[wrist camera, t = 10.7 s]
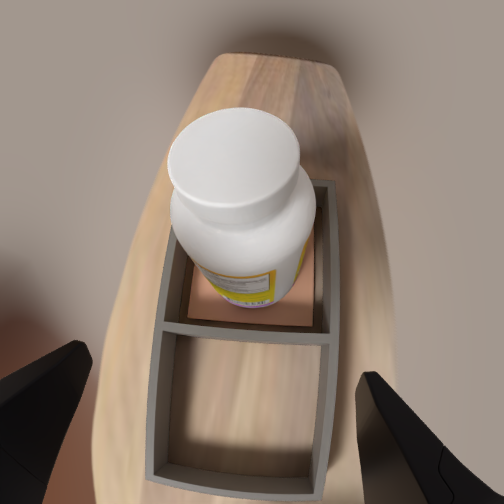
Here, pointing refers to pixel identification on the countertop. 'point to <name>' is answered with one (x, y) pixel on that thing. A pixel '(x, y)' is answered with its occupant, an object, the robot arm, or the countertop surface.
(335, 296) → the tray
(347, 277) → the countertop surface
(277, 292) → the supplement bottle
